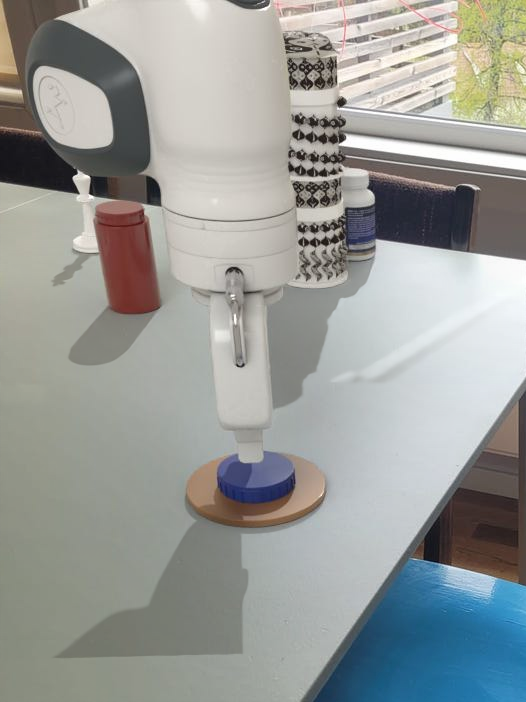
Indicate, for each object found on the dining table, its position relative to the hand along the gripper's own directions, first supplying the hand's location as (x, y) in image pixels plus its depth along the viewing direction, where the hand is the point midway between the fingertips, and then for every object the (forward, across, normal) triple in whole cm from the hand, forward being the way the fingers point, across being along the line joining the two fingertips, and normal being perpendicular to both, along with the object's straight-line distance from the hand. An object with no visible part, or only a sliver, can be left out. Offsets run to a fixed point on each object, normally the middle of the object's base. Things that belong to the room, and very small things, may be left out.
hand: (250, 428), depth 77 cm
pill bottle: (+6, +57, -13) cm, 59 cm away
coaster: (+5, 0, 0) cm, 5 cm away
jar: (+6, +41, +12) cm, 43 cm away
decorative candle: (+6, +49, -8) cm, 50 cm away
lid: (+4, 0, 0) cm, 4 cm away
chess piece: (+6, +61, +19) cm, 64 cm away
